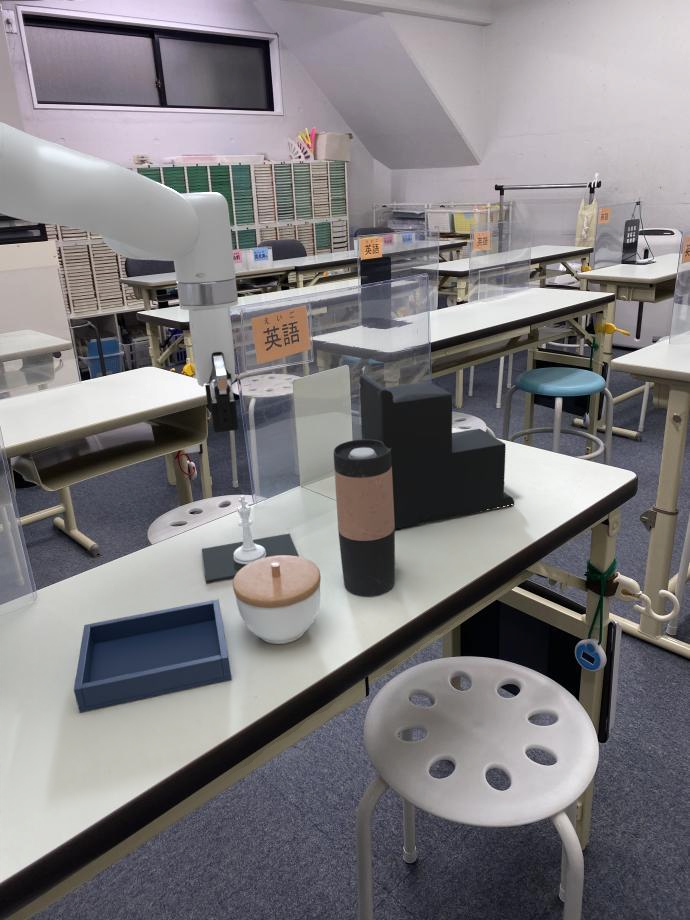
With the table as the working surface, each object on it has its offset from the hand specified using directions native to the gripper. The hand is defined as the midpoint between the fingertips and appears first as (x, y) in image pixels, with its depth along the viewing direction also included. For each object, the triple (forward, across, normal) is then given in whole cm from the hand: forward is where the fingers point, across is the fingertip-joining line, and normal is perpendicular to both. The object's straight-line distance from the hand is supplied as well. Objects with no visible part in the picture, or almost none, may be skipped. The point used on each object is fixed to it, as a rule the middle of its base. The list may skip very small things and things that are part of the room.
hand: (222, 420), depth 95 cm
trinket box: (+23, +19, +3) cm, 30 cm away
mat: (+22, -1, +2) cm, 23 cm away
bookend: (+22, -7, +35) cm, 42 cm away
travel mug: (+23, +12, +17) cm, 31 cm away
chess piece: (+22, -1, +2) cm, 22 cm away
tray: (+23, +20, -12) cm, 33 cm away
